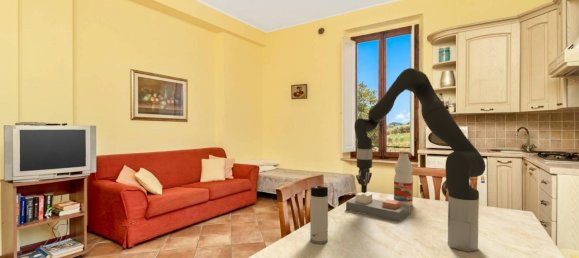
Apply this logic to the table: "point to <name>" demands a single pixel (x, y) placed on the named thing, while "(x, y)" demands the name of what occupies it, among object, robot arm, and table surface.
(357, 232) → the table surface
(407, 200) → the fruit juice
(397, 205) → the brick-red key
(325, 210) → the travel mug
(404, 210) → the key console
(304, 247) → the table surface
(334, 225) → the table surface
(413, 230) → the table surface
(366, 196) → the off-white key
